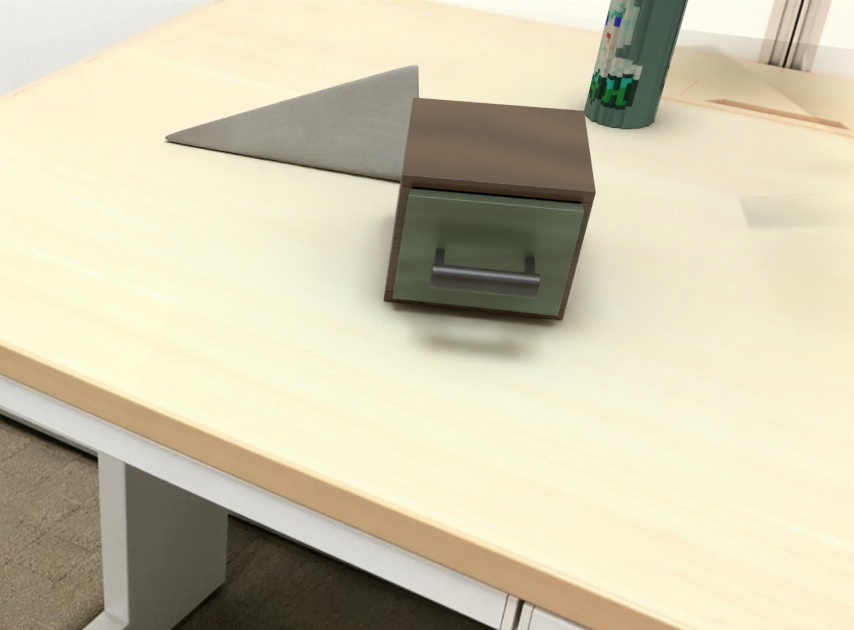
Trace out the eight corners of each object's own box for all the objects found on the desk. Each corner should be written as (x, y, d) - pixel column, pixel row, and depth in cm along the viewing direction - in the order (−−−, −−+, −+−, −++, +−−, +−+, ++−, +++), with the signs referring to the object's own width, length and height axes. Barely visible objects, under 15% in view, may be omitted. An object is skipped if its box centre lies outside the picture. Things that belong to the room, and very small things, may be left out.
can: (575, 105, 119) (615, -65, 109) (636, 102, 120) (681, -67, 110) (600, 129, 114) (644, -46, 105) (663, 126, 115) (713, -48, 105)
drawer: (559, 347, 84) (587, 240, 79) (388, 328, 86) (405, 223, 81) (551, 231, 97) (574, 133, 92) (402, 217, 99) (417, 120, 94)
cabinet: (562, 320, 88) (596, 191, 82) (383, 301, 90) (402, 174, 84) (555, 229, 99) (584, 110, 93) (395, 214, 101) (413, 97, 95)
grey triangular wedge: (152, 178, 106) (423, 143, 100) (153, 99, 108) (418, 61, 103) (175, 242, 115) (424, 213, 110) (176, 168, 118) (419, 136, 112)
